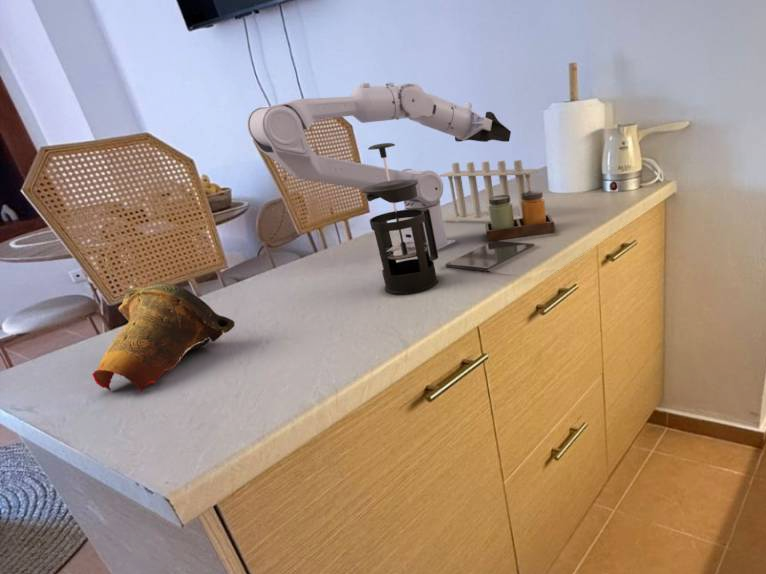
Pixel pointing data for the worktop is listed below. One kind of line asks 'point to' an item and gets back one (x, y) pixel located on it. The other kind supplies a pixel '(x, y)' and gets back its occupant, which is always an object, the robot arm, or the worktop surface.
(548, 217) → the jar stand
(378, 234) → the french press
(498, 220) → the sage jar
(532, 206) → the honey jar
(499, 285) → the worktop surface
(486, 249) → the slate board
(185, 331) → the pot
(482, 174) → the test tube rack
